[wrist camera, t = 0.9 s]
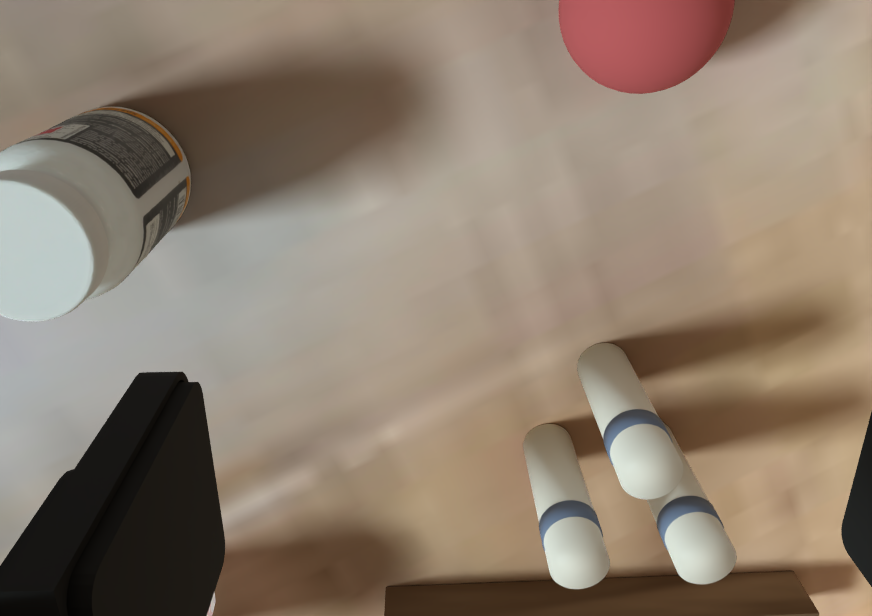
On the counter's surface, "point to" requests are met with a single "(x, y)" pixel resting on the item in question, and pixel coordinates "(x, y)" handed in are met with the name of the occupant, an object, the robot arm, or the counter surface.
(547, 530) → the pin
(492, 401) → the counter surface
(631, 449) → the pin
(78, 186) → the pill bottle
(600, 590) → the back rail
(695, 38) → the ball
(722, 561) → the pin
